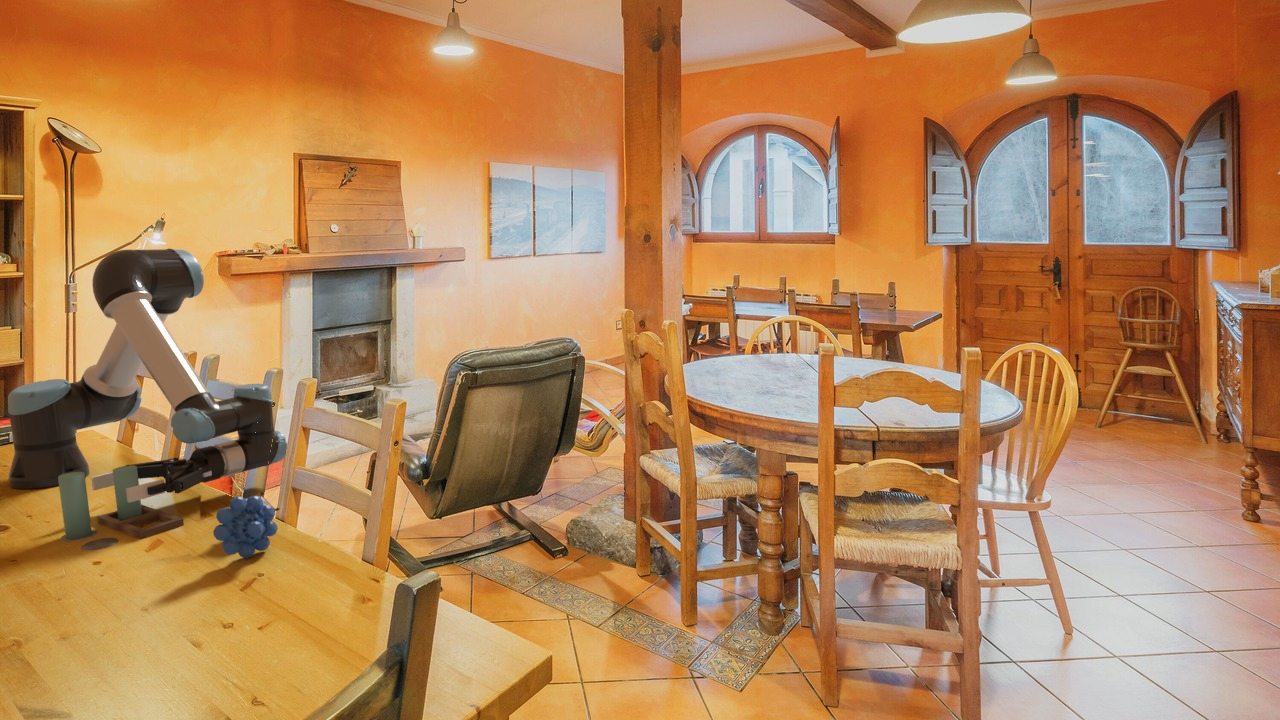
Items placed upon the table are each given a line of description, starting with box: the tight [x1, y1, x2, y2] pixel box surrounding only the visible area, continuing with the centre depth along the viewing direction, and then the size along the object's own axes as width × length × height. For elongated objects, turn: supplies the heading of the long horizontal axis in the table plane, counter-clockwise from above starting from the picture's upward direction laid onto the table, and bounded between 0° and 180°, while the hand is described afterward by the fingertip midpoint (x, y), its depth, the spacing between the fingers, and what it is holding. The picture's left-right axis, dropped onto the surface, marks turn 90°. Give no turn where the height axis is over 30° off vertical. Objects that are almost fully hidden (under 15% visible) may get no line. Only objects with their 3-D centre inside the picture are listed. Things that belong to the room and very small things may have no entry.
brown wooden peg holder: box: [96, 504, 185, 540], centre depth 147 cm, size 16×8×2 cm, turn 60°
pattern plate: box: [60, 529, 119, 551], centre depth 140 cm, size 16×8×1 cm, turn 60°
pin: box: [58, 472, 93, 539], centre depth 140 cm, size 4×4×12 cm
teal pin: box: [112, 465, 142, 521], centre depth 148 cm, size 4×4×12 cm
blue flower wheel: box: [213, 495, 278, 559], centre depth 133 cm, size 12×7×12 cm, turn 150°
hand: (109, 489), depth 145 cm, fingers open, 13 cm apart
